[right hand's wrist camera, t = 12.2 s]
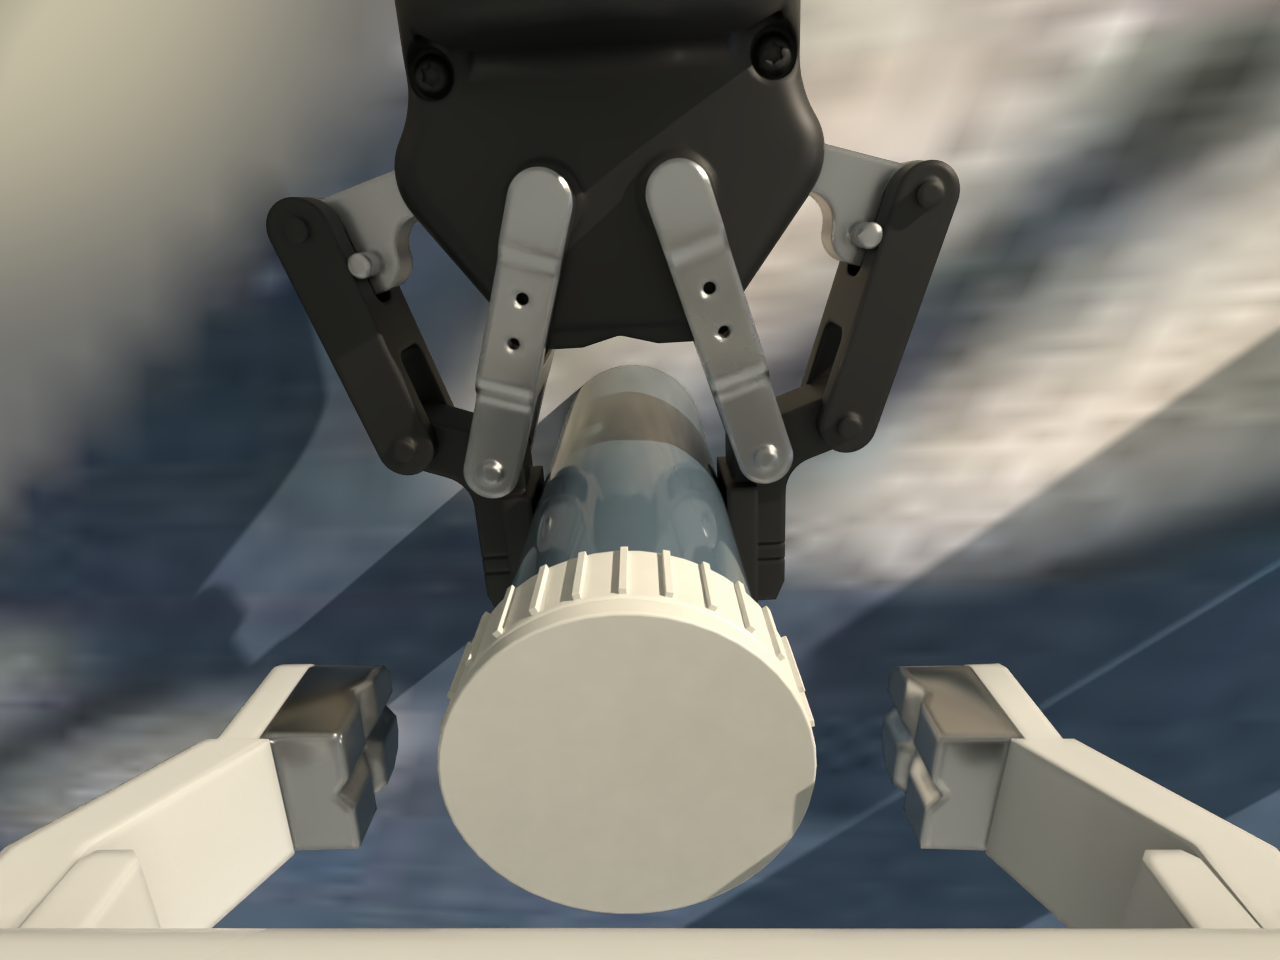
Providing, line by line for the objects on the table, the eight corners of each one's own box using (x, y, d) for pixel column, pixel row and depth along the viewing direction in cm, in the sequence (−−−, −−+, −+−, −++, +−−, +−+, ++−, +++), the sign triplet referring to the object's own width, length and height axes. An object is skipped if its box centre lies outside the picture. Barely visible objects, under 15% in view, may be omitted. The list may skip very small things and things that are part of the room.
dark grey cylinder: (687, 352, 23) (768, 584, 9) (710, 481, 25) (807, 850, 11) (551, 379, 23) (422, 643, 9) (581, 504, 25) (510, 895, 11)
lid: (773, 513, 10) (799, 573, 8) (813, 797, 12) (842, 890, 10) (418, 577, 10) (379, 646, 9) (509, 844, 12) (490, 942, 10)
